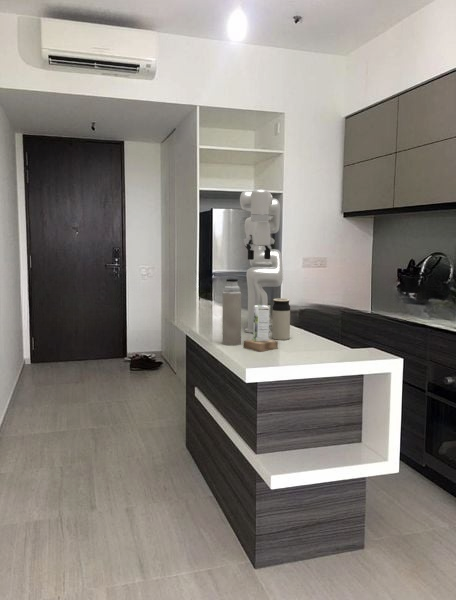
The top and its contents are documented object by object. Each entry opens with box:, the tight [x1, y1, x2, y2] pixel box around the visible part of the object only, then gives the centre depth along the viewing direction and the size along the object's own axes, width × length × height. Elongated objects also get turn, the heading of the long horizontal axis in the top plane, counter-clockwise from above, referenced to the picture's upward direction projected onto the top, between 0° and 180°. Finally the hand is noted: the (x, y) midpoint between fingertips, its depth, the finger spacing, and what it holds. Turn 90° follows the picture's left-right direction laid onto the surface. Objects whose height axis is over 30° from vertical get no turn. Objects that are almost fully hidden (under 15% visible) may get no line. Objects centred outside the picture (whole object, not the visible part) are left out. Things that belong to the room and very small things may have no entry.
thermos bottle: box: [222, 278, 242, 346], centre depth 229 cm, size 8×8×28 cm
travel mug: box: [271, 298, 291, 341], centre depth 242 cm, size 8×8×18 cm
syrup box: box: [252, 305, 270, 342], centre depth 220 cm, size 6×6×14 cm
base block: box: [242, 338, 279, 353], centre depth 221 cm, size 10×10×3 cm
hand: (259, 259), depth 230 cm, fingers open, 9 cm apart
